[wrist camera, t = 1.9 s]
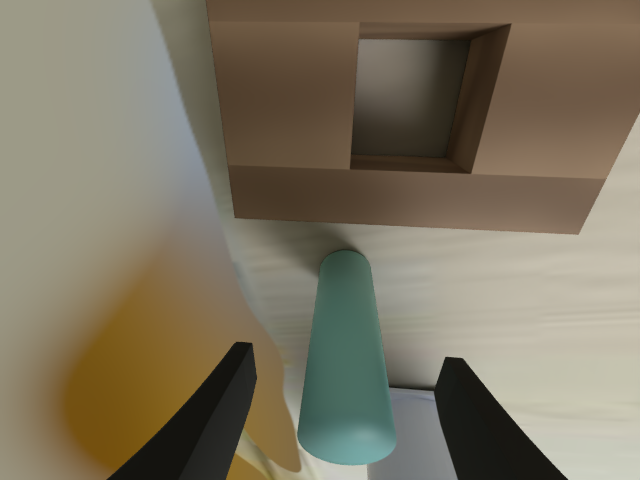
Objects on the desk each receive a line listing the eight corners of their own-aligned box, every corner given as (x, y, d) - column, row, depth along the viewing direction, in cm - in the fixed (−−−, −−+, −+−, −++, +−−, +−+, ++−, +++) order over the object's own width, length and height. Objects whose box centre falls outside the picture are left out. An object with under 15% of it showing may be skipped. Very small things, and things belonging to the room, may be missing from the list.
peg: (368, 294, 17) (389, 469, 9) (319, 291, 17) (298, 460, 9) (373, 251, 16) (404, 414, 8) (320, 248, 16) (296, 405, 8)
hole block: (533, 207, 14) (578, 234, 11) (254, 195, 15) (234, 218, 12) (631, -39, 10) (739, -88, 7) (233, -36, 10) (195, -80, 8)
